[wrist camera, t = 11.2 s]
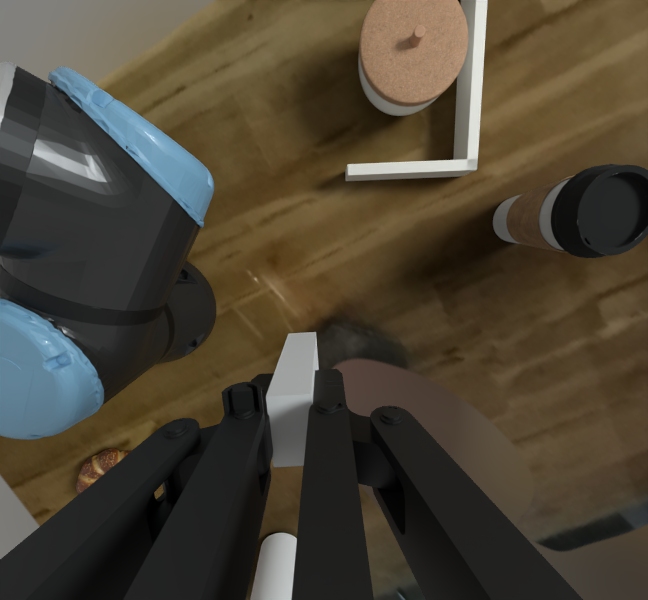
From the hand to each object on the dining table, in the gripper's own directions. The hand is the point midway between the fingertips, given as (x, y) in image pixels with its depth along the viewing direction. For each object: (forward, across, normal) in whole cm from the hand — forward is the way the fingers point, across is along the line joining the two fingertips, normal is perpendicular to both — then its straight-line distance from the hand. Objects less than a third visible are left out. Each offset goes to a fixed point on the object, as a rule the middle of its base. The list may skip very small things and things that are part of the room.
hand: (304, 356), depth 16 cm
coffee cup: (+27, +27, +7) cm, 39 cm away
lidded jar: (+27, +12, +24) cm, 38 cm away
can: (+27, -9, -45) cm, 53 cm away
